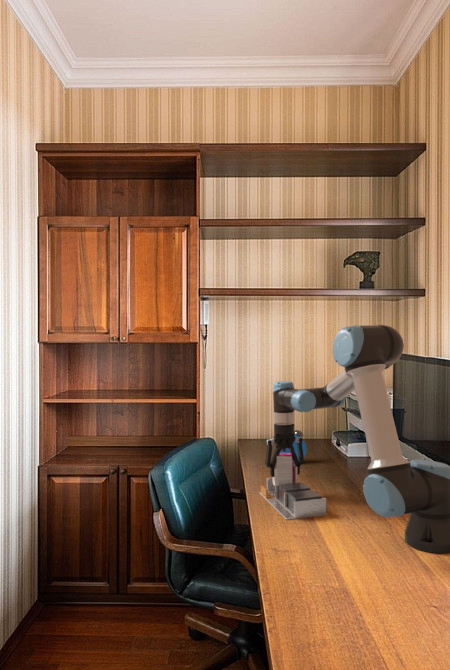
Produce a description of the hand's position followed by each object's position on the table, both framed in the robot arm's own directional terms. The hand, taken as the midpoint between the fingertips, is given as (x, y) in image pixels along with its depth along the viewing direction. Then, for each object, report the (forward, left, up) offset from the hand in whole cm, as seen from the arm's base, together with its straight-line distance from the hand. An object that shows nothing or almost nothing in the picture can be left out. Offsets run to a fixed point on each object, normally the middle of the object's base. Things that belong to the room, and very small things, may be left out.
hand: (285, 484), depth 197 cm
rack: (-9, +1, -4) cm, 10 cm away
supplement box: (0, 0, -1) cm, 1 cm away
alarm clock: (+43, -19, -4) cm, 47 cm away
